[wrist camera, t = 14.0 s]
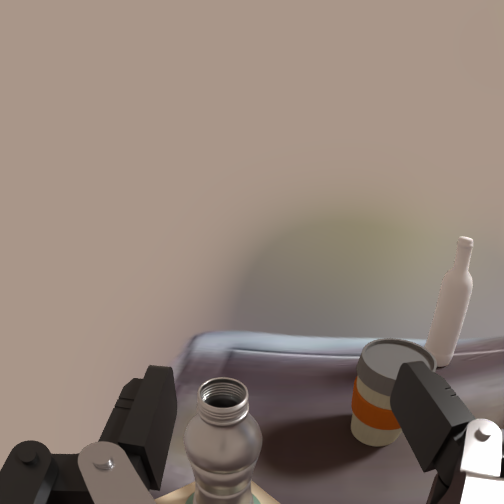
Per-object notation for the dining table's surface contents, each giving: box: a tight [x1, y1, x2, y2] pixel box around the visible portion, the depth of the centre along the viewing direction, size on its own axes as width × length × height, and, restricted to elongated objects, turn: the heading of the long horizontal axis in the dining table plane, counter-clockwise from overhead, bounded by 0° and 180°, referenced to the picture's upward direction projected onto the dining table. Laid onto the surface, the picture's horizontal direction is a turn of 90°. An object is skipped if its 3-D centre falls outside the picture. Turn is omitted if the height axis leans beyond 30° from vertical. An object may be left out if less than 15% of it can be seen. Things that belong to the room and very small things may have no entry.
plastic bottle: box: [184, 377, 263, 504], centre depth 23 cm, size 6×7×20 cm
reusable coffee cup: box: [351, 338, 437, 446], centre depth 43 cm, size 13×13×15 cm
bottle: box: [424, 236, 473, 367], centre depth 60 cm, size 8×8×30 cm
